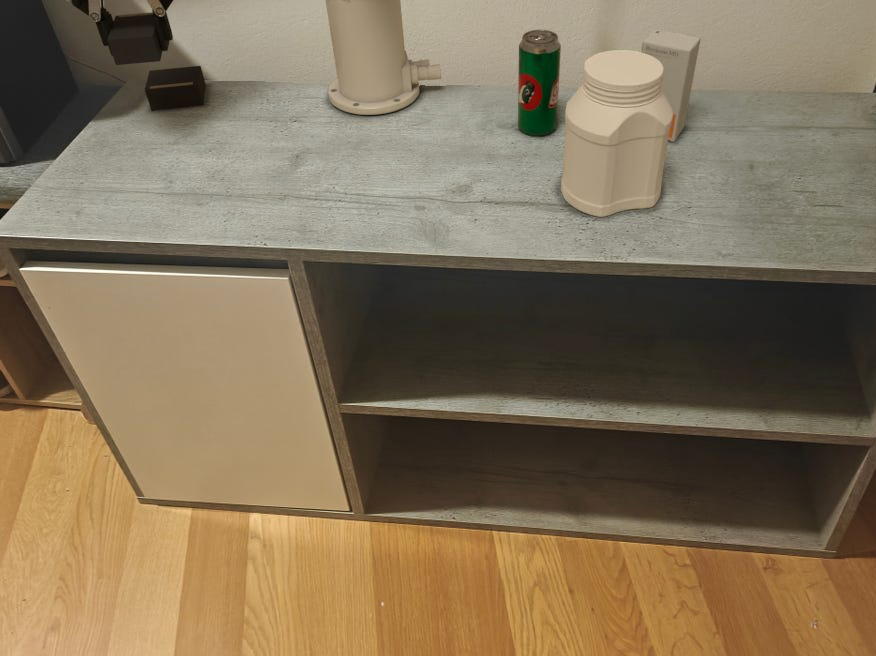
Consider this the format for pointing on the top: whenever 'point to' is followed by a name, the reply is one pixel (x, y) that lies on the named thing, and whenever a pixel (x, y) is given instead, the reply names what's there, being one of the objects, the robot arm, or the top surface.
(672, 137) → the cosmetic box
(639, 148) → the jar
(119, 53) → the black box
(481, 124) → the top surface
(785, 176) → the top surface
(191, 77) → the charcoal pad
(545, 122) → the soda can
